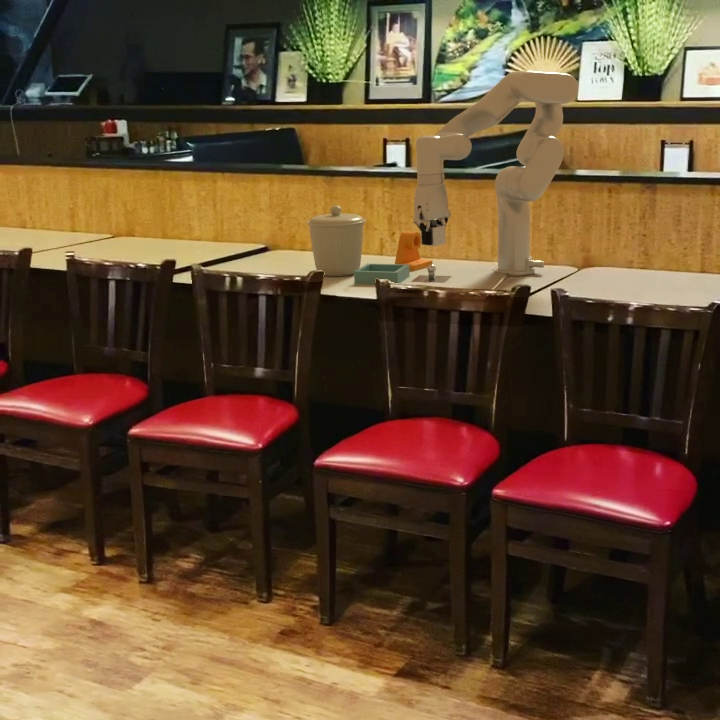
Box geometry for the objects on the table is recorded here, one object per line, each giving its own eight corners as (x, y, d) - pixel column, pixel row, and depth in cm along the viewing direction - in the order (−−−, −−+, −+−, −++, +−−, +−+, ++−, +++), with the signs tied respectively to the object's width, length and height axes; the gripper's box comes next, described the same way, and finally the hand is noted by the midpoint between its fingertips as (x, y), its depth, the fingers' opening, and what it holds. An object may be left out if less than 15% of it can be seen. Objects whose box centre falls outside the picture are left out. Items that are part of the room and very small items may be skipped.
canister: (379, 273, 324) (377, 204, 318) (332, 281, 313) (330, 211, 307) (343, 266, 337) (340, 200, 332) (297, 274, 327) (294, 206, 321)
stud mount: (452, 279, 310) (452, 262, 309) (444, 285, 301) (444, 268, 300) (419, 278, 313) (419, 261, 312) (410, 284, 304) (410, 267, 303)
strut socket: (433, 242, 308) (432, 214, 306) (445, 243, 304) (444, 215, 302) (421, 244, 305) (420, 217, 303) (433, 246, 301) (432, 218, 299)
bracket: (414, 274, 321) (413, 235, 317) (394, 272, 325) (393, 233, 322) (433, 268, 329) (433, 230, 326) (414, 266, 333) (414, 229, 330)
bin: (409, 279, 312) (409, 264, 311) (397, 288, 300) (397, 272, 299) (367, 278, 316) (367, 263, 315) (354, 286, 304) (354, 271, 303)
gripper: (441, 175, 308) (444, 237, 313) (400, 183, 297) (403, 246, 302) (460, 176, 302) (463, 239, 307) (419, 184, 291) (422, 249, 296)
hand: (433, 242), depth 305 cm, fingers closed on strut socket, 5 cm apart
